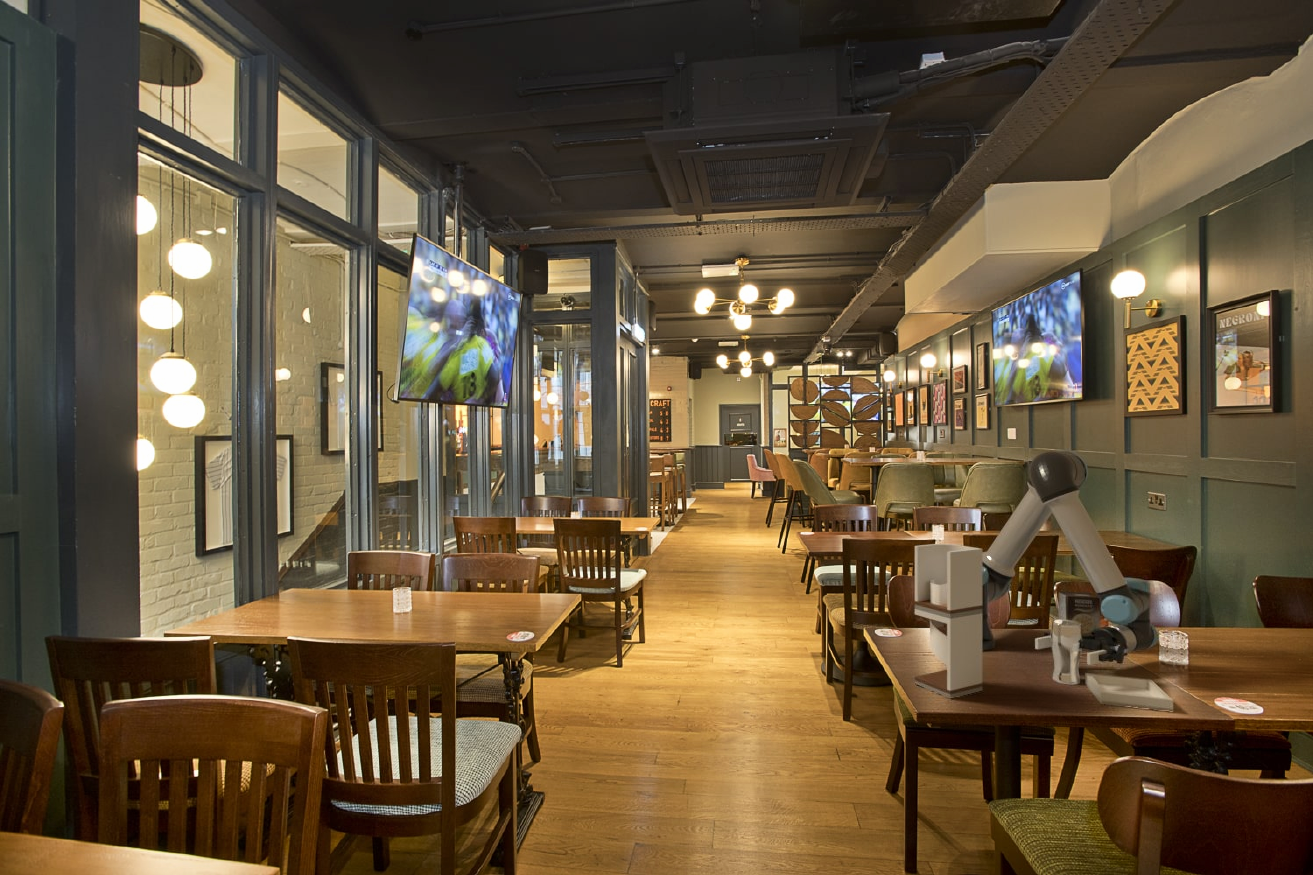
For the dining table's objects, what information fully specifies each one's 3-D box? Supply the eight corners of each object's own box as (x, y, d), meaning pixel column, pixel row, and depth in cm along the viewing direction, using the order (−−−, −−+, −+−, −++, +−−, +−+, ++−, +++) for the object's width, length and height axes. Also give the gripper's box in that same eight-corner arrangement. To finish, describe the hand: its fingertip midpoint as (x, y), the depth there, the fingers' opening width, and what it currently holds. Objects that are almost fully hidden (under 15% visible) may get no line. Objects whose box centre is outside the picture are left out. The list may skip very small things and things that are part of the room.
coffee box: (1066, 650, 198) (1066, 595, 198) (1057, 643, 204) (1057, 590, 204) (1100, 651, 196) (1100, 597, 196) (1090, 645, 202) (1090, 592, 202)
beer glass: (1087, 686, 168) (1087, 626, 168) (1056, 684, 169) (1056, 625, 170) (1075, 676, 175) (1075, 619, 175) (1046, 675, 176) (1046, 617, 176)
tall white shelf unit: (946, 677, 174) (946, 542, 174) (982, 691, 165) (982, 548, 165) (914, 684, 169) (914, 545, 169) (950, 699, 160) (950, 552, 160)
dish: (1101, 704, 157) (1101, 692, 157) (1085, 683, 170) (1085, 672, 170) (1173, 712, 152) (1173, 700, 152) (1151, 690, 165) (1151, 679, 165)
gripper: (1163, 668, 169) (1112, 681, 160) (1066, 642, 191) (1016, 651, 182) (1163, 639, 169) (1112, 650, 160) (1066, 615, 191) (1016, 624, 182)
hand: (1061, 651), depth 171 cm, fingers open, 13 cm apart
